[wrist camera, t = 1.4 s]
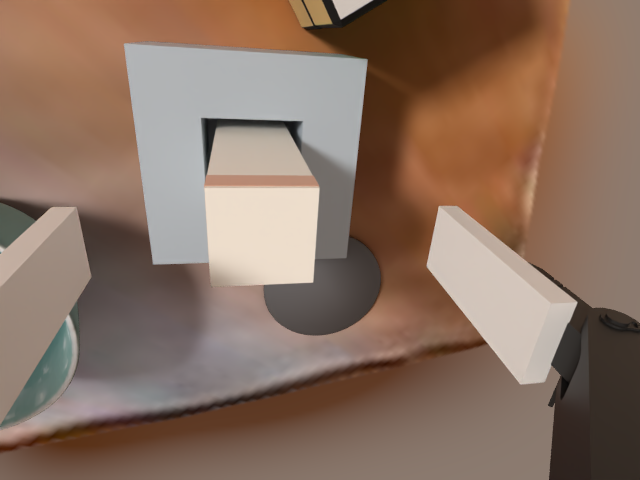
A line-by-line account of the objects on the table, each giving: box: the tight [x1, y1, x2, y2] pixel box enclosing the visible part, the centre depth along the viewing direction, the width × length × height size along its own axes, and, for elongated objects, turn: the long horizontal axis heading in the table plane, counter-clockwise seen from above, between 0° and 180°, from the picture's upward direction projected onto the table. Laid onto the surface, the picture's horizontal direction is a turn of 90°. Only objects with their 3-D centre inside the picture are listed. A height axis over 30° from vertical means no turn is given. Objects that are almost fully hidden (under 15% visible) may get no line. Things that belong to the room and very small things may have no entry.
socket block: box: [124, 41, 368, 265], centre depth 26 cm, size 12×12×6 cm
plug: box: [204, 118, 320, 287], centre depth 21 cm, size 4×4×14 cm
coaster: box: [264, 236, 381, 335], centre depth 35 cm, size 10×10×1 cm
